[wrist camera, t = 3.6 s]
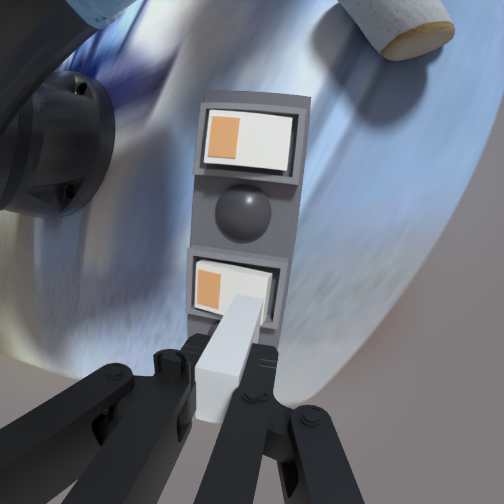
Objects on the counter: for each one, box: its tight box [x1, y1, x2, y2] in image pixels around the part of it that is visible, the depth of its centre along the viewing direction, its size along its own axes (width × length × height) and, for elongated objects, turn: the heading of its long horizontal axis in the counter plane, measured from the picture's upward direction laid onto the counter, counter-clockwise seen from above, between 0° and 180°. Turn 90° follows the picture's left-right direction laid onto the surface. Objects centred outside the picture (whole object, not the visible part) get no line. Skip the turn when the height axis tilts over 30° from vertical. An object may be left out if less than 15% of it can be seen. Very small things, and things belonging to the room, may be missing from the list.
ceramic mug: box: [338, 0, 455, 61], centre depth 12 cm, size 11×8×8 cm
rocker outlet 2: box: [195, 259, 273, 325], centre depth 18 cm, size 5×3×1 cm
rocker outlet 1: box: [204, 110, 292, 171], centre depth 16 cm, size 5×3×1 cm
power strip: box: [186, 91, 311, 350], centre depth 20 cm, size 7×20×5 cm, turn 174°
